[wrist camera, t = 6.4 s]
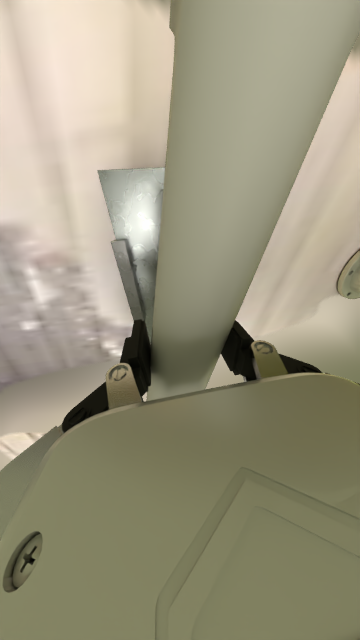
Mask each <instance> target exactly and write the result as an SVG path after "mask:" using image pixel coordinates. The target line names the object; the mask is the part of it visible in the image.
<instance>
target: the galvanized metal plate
mask: <svg viewBox="0 0 360 640" xmlns="http://www.w3.org/2000/svg"><path fill="white" fill-rule="evenodd" d="M97 171H98V174H99V178H100V182H101V185H102V189H103V193H104V197H105V200H106V204H107V208H108V211H109V215H110V219H111V222H112V226H113V230H114V233H115V237H116V240H114V241H112V242H111V244H112V248H113V251H114V254H115V258H116V261H117V265H118V268H119V272H120V275H121V278H122V282H123V285H124V289H125V292H126V296H127V299H128V303H129V306H130V309H131V313H132V316H133V320H139V319H142V321H144V320H145V323H146V327H147V332H148V336H149V340H150V343H151V338H152V326H153V313H154V301H155V289H156V276H157V264H158V251H159V239H160V226H161V214H162V202H163V189H164V177H165V167H164V168H141V169H118V170H97Z"/></svg>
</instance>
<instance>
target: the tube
mask: <svg viewBox="0 0 360 640" xmlns="http://www.w3.org/2000/svg"><path fill="white" fill-rule="evenodd" d="M169 28H170V29H171V31H172V32H173V34H174V36H175V46H174V65H173V77H172V90H171V102H170V115H169V127H168V140H167V152H166V164H165V177H164V189H163V202H162V214H161V226H160V239H159V251H158V264H157V276H156V289H155V301H154V313H153V326H152V338H151V359H150V369H151V386H148V392H147V401H150V400H155V399H160V398H165V397H170V396H175V395H180V394H185V393H190V392H196V391H201V390H205V388H206V386H207V384H208V382H209V379H210V377H211V375H212V372H213V370H214V367H215V365H216V363H217V360H218V358H219V356H220V354H221V351H222V349H223V347H224V344H225V342H226V340H227V337H228V335H229V333H230V330H231V328H232V326H233V323H234V321H235V319H236V316H237V314H238V312H239V310H240V307H241V305H242V303H243V300H244V298H245V296H246V293H247V291H248V289H249V286H250V284H251V282H252V279H253V277H254V275H255V272H256V270H257V268H258V265H259V263H260V261H261V258H262V256H263V254H264V251H265V249H266V247H267V244H268V242H269V240H270V237H271V235H272V233H273V230H274V228H275V226H276V224H277V221H278V219H279V217H280V214H281V212H282V210H283V207H284V205H285V203H286V200H287V198H288V196H289V193H290V191H291V189H292V186H293V184H294V182H295V179H296V177H297V175H298V172H299V170H300V168H301V165H302V163H303V161H304V158H305V156H306V154H307V151H308V149H309V147H310V145H311V142H312V140H313V138H314V135H315V133H316V131H317V128H318V126H319V124H320V121H321V119H322V117H323V114H324V112H325V110H326V107H327V105H328V103H329V100H330V98H331V96H332V93H333V91H334V89H335V86H336V84H337V82H338V79H339V77H340V75H341V72H342V70H343V68H344V65H345V63H346V61H347V59H348V56H349V54H350V52H351V50H352V48H353V46H354V44H355V42H356V40H357V38H358V36H359V34H360V0H171V6H170V25H169Z"/></svg>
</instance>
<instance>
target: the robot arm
mask: <svg viewBox="0 0 360 640" xmlns="http://www.w3.org/2000/svg"><path fill="white" fill-rule="evenodd" d="M338 292H339V293H340V295H341V296H343V297H346V298H349V299H356V298H360V250H359V251H358V252H357V253H356V254H355V255H354V256H353V257H352V259H351V260H350V261H349V262H348V264H347V265H346V266H345V268H344V270H343V271H342V273H341V275H340V278H339V281H338ZM221 354H222V356H223V358H224V360H225V362H226V364H227V366H228V367H229V369H230V371H233V373H234V375H239V374H241V375H243V379H244V382H243V383H238V384H232V385H227V386H222V387H216V388H211V389H206V390H201V391H196V392H190V393H185V394H180V395H175V396H170V397H165V398H160V399H155V400H150V401H146V402H144V401H143V398H142V396H143V395H144V394H145V393H146V392H148V386H151V369H150V359H151V344H150V340H149V336H148V332H147V327H146V323H145V320H144V321H142V319H139V320H134V325H133V330H132V335H131V337H128V338H126V339H125V343H124V347H123V351H122V355H121V360H120V363H119V364H116V365H114V366H113V367H111V368H110V369H109V370H108V371H107V373H106V382H105V383H103V384H102V385H101V386H100V387H98V388H97V389H96V390H95V391H94V392H92V393H91V394H90V395H89V396H88V397H86V398H85V399H84V400H83V401H81V402H80V403H79V404H78V405H77V406H75V407H74V408H73V409H72V410H71V411H70V412H69V413H68V414H67V415H66V417H65V418H64V421H63V423H62V424H61V425H60V426H59V427H57V426H55V427H54V428H53V429H51V430H50V431H49V432H48V433H46V434H45V435H44V436H43V437H41V438H40V439H39V440H38V441H36V442H35V443H34V444H33V445H31V446H30V447H29V448H27V449H26V450H25V451H24V452H22V453H21V454H20V455H19V456H17V457H16V458H15V459H14V460H12V461H11V462H10V463H9V464H8V465H6V466H5V467H4V468H3V469H2V470H1V471H0V640H360V384H359V383H356V382H353V381H351V380H348V379H346V378H343V377H339V376H335V375H331V374H328V373H325V374H323V373H322V372H321V371H320V370H319V369H318V368H316V367H314V366H312V365H310V364H307V363H304V362H302V361H299V360H296V359H293V358H290V357H287V356H284V355H281V354H278V352H277V350H276V348H275V347H274V346H273V345H272V344H270V343H269V342H266V341H262V340H257V341H254V340H253V339H252V337H251V336H250V335H249V334H248V333H247V332H246V331H245V330H244V328H243V327H242V326H241V325H240V324H239V323H238V322H237V321H236V320H235V321H234V323H233V326H232V328H231V330H230V333H229V335H228V337H227V340H226V342H225V344H224V347H223V349H222V351H221Z"/></svg>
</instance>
